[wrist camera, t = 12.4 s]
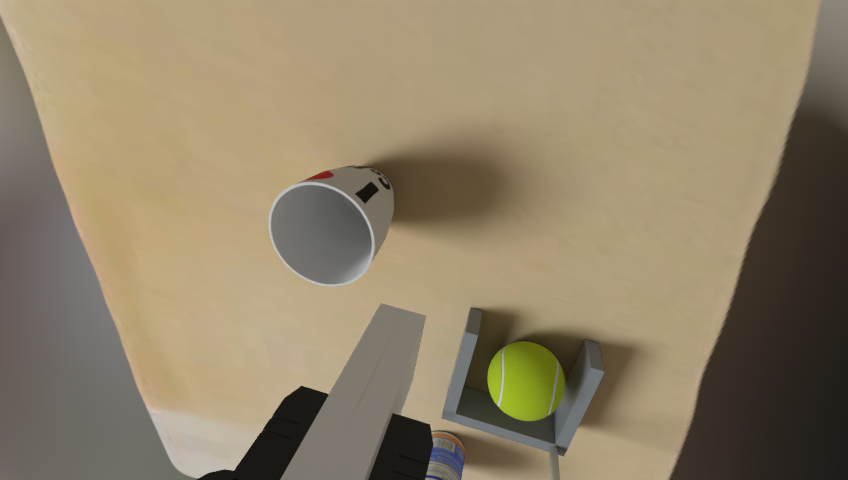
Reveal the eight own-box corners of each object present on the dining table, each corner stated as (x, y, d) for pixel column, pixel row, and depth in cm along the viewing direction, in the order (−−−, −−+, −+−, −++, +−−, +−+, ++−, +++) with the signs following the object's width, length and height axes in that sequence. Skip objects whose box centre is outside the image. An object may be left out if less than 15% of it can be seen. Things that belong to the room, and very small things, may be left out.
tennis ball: (568, 334, 40) (575, 386, 34) (554, 389, 43) (559, 446, 37) (495, 320, 41) (489, 369, 35) (486, 375, 44) (479, 428, 38)
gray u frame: (470, 307, 41) (434, 470, 25) (598, 342, 40) (645, 540, 24) (448, 389, 46) (406, 570, 30) (560, 424, 45) (579, 632, 29)
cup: (418, 164, 37) (383, 201, 28) (400, 245, 40) (364, 300, 31) (332, 139, 37) (271, 167, 28) (322, 220, 41) (265, 268, 32)
